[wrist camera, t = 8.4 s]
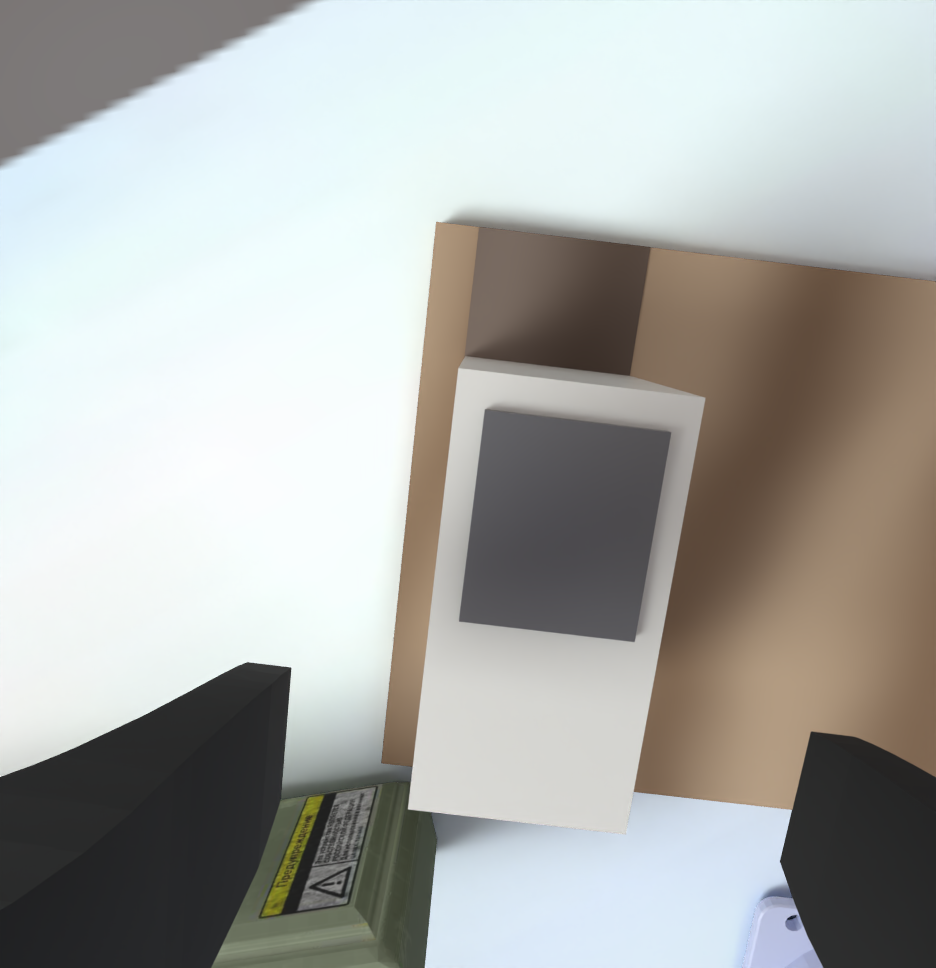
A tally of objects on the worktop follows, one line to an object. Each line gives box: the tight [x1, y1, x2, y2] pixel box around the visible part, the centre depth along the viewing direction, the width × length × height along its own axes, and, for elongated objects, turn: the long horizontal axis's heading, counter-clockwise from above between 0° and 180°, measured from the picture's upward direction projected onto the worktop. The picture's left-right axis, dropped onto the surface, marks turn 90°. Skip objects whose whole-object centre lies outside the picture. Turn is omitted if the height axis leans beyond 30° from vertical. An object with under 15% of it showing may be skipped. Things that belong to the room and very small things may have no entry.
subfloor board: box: [381, 222, 936, 810], centre depth 19 cm, size 16×14×1 cm
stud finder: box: [408, 356, 705, 834], centre depth 16 cm, size 4×8×6 cm, turn 173°
